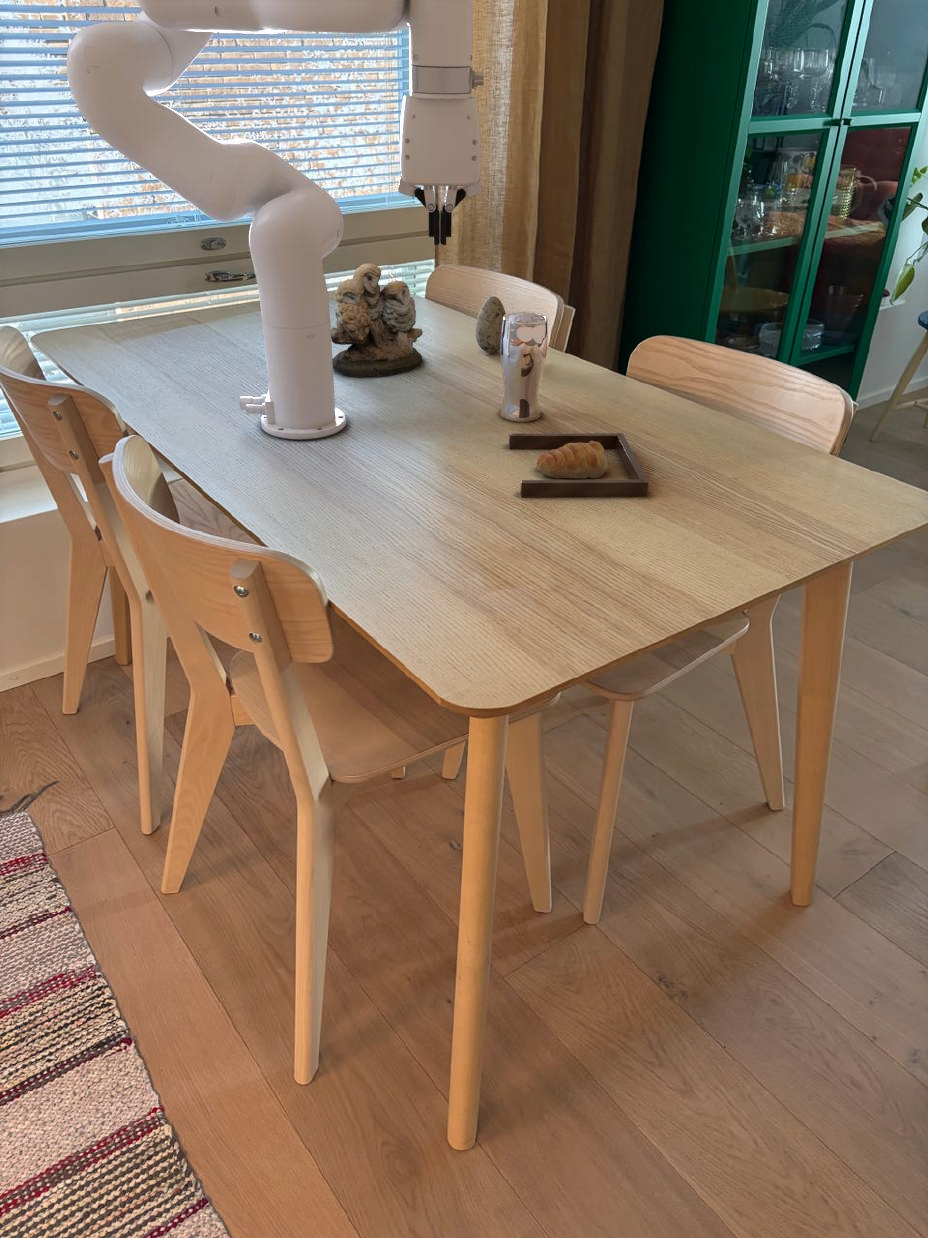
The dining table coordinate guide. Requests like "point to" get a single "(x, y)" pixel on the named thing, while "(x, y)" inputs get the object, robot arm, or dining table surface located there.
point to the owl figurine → (374, 326)
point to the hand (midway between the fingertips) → (439, 242)
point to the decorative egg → (490, 325)
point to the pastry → (574, 461)
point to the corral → (582, 487)
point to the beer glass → (522, 364)
